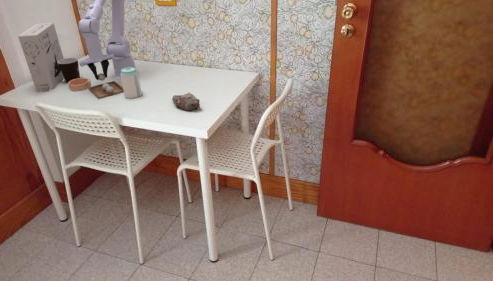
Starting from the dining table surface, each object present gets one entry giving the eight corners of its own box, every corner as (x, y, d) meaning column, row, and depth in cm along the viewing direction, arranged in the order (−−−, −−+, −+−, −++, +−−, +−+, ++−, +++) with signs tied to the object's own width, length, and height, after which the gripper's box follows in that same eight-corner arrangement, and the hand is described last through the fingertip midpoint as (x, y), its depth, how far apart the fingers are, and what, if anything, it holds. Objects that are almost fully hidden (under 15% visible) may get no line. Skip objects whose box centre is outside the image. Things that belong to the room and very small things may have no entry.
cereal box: (53, 90, 170) (36, 34, 158) (36, 91, 170) (17, 35, 157) (68, 73, 189) (53, 22, 176) (52, 74, 189) (36, 23, 176)
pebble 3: (112, 91, 166) (111, 84, 164) (115, 93, 164) (113, 86, 162) (105, 93, 164) (104, 86, 163) (108, 95, 162) (106, 88, 161)
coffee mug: (76, 85, 176) (70, 64, 170) (59, 84, 177) (53, 63, 172) (90, 75, 185) (84, 55, 180) (74, 75, 187) (68, 55, 182)
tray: (114, 83, 175) (114, 80, 175) (126, 92, 166) (125, 89, 165) (88, 90, 169) (87, 87, 169) (98, 100, 160) (98, 97, 159)
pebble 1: (104, 78, 171) (102, 71, 169) (106, 80, 169) (105, 73, 167) (97, 80, 169) (95, 73, 168) (99, 82, 167) (98, 75, 165)
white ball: (109, 88, 169) (107, 81, 168) (111, 90, 167) (110, 83, 165) (102, 90, 168) (100, 83, 166) (104, 92, 165) (102, 85, 164)
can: (121, 97, 162) (115, 70, 156) (134, 91, 167) (129, 65, 160) (132, 100, 158) (127, 73, 152) (145, 95, 163) (140, 68, 157)
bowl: (87, 82, 177) (86, 76, 176) (93, 88, 171) (92, 81, 169) (67, 87, 173) (65, 81, 171) (73, 93, 167) (71, 87, 165)
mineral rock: (169, 102, 156) (168, 92, 154) (187, 97, 160) (186, 87, 157) (184, 115, 145) (182, 105, 143) (202, 110, 149) (201, 100, 146)
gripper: (79, 53, 155) (87, 85, 162) (114, 46, 162) (120, 76, 169) (74, 49, 160) (82, 80, 167) (108, 42, 167) (115, 72, 174)
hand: (101, 78), depth 168 cm, fingers closed on pebble 1, 3 cm apart
